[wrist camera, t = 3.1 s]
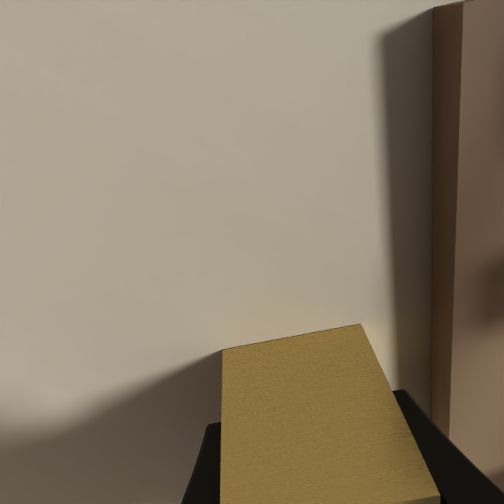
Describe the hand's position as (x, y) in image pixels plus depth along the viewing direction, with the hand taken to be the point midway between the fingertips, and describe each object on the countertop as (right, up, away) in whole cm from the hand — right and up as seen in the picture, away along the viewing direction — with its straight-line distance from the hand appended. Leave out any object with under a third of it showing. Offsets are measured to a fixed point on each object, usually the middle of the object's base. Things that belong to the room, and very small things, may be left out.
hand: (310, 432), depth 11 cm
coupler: (0, +1, +1) cm, 2 cm away
